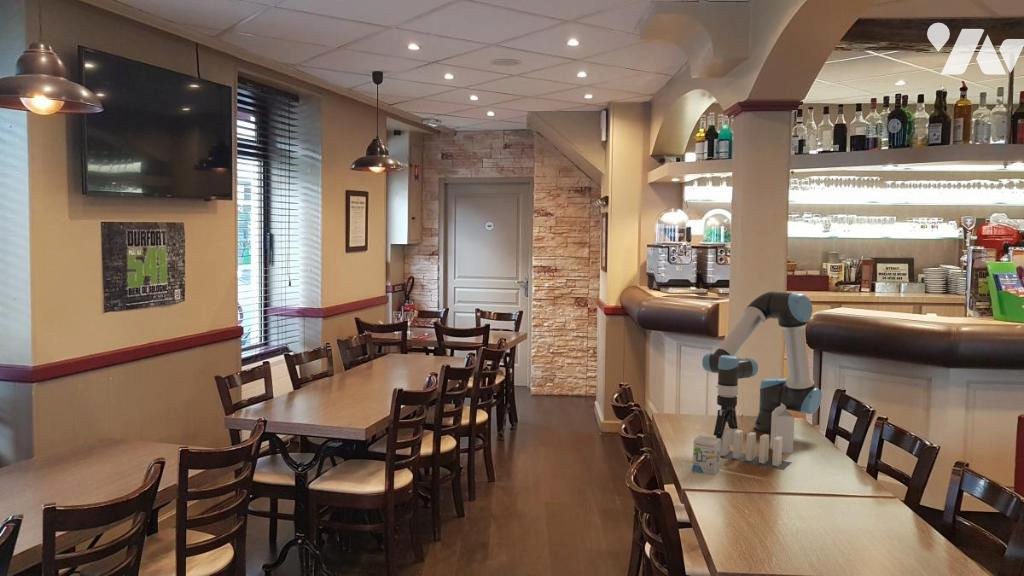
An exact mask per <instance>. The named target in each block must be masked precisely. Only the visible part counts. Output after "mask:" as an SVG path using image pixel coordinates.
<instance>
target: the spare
mask: <svg viewBox="0 0 1024 576" xmlns="http://www.w3.org/2000/svg"><path fill="white" fill-rule="evenodd" d="M723 436H724V439H723V453H721V456H726V455H728V454H729V452H730V451H731V450H730V446H731V445H730V428H729V427H725V429H724V432H723Z"/></svg>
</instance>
